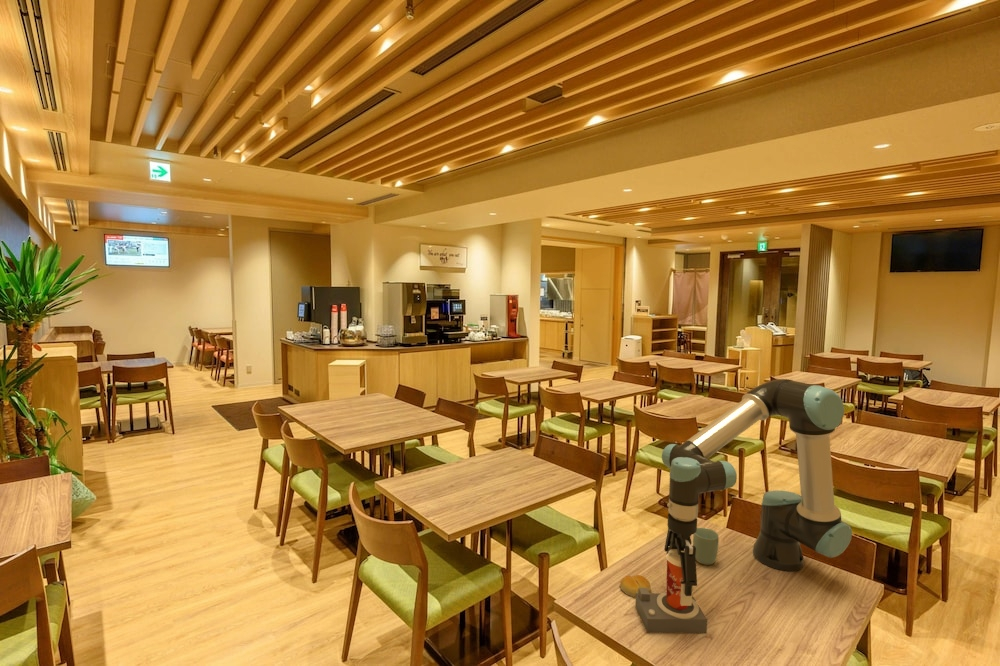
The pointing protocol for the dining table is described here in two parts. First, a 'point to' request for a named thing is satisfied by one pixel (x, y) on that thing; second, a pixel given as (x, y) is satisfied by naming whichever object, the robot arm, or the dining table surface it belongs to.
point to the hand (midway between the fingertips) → (678, 592)
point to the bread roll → (634, 584)
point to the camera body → (668, 614)
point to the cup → (706, 545)
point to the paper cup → (674, 579)
